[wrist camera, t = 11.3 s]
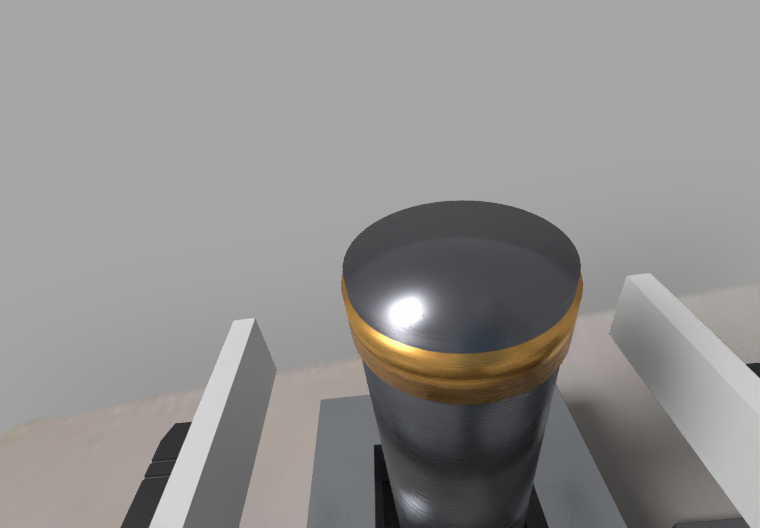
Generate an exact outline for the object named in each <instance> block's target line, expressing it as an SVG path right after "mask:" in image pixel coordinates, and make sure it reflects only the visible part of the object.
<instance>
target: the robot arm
mask: <svg viewBox="0 0 760 528" xmlns="http://www.w3.org/2000/svg"><path fill="white" fill-rule="evenodd" d="M609 335H610V336H611V337H612V339H613V340H614V342H615V343H616V344H617V346H618V347H619V348H620V350H621V351H622V352H623V354H624V355H625V357H626V358H627V359H628V361H629V362H630V363H631V365H632V366H633V368H634V369H635V370H636V372H637V373H638V374H639V376H640V377H641V378H642V380H643V381H644V383H645V384H646V385H647V387H648V388H649V389H650V391H651V392H652V394H653V395H654V396H655V398H656V399H657V400H658V402H659V403H660V404H661V406H662V407H663V409H664V410H665V411H666V413H667V414H668V415H669V417H670V418H671V420H672V421H673V422H674V424H675V425H676V426H677V428H678V429H679V430H680V432H681V433H682V435H683V436H684V437H685V439H686V440H687V441H688V443H689V444H690V446H691V447H692V448H693V450H694V451H695V452H696V454H697V455H698V456H699V458H700V459H701V461H702V462H703V463H704V465H705V466H706V467H707V469H708V470H709V472H710V473H711V474H712V476H713V477H714V478H715V480H716V481H717V482H718V484H719V485H720V487H721V488H722V489H723V491H724V492H725V493H726V495H727V496H728V498H729V499H730V500H731V502H732V503H733V504H734V506H735V507H736V508H737V510H738V511H739V513H740V514H741V515H742V517H743V518H744V519H745V521H746V522H747V524H748V525H749V526H750V528H760V363H752V364H744V363H743V362H742V361H741V360H740V359H739V358H738V357H737V356H736V355H735V354H734V353H733V352H732V351H731V350H730V349H729V348H728V347H727V346H726V345H725V344H723V343H722V342H721V341H720V340H719V339H718V338H717V337H716V336H715V335H714V334H713V333H712V332H711V331H710V330H709V329H708V328H707V327H706V326H705V325H704V324H703V323H702V322H701V321H699V320H698V319H697V318H696V317H695V316H694V315H693V314H692V313H691V312H690V311H689V310H688V309H687V308H686V307H685V306H684V305H683V304H682V303H681V302H680V301H679V300H678V299H676V298H675V297H674V296H673V295H672V294H671V293H670V292H669V291H668V290H667V289H666V288H665V287H664V286H663V285H662V284H661V283H660V282H659V281H658V280H657V279H656V278H655V277H654V276H652V275H651V274H650V273H648V274H639V275H630V276H627V277H626V280H625V283H624V287H623V290H622V293H621V296H620V300H619V303H618V306H617V309H616V313H615V316H614V319H613V322H612V325H611V329H610V332H609ZM276 370H277V369H276V367H275V364H274V362H273V360H272V357H271V355H270V352H269V350H268V348H267V345H266V343H265V341H264V338H263V336H262V333H261V331H260V329H259V326H258V324H257V321H256V319H255V318H252V319H243V320H234V322H233V324H232V326H231V329H230V331H229V334H228V336H227V339H226V341H225V344H224V346H223V348H222V351H221V354H220V356H219V358H218V361H217V363H216V366H215V368H214V370H213V373H212V375H211V378H210V380H209V382H208V385H207V387H206V390H205V392H204V395H203V397H202V400H201V402H200V404H199V407H198V409H197V412H196V414H195V417H194V419H193V421H192V422H186V423H176V424H175V425H174V426H173V427H172V428H171V429H170V431H169V432H168V433H167V434H166V435H165V437H164V438H163V439H162V440H161V442H160V444H159V446H158V448H157V450H156V452H155V454H154V457H153V459H152V464H150V465H149V467H148V470H147V472H146V474H145V479H144V480H142V482H141V485H140V487H139V489H138V491H137V493H136V495H135V498H134V500H133V502H132V504H131V506H130V508H129V510H128V513H127V515H126V517H125V519H124V521H123V523H122V526H121V528H239V524H240V520H241V516H242V512H243V508H244V504H245V499H246V495H247V491H248V487H249V483H250V479H251V474H252V470H253V466H254V462H255V458H256V454H257V449H258V445H259V441H260V437H261V433H262V429H263V424H264V420H265V416H266V412H267V408H268V404H269V399H270V395H271V391H272V387H273V383H274V379H275V374H276Z"/></svg>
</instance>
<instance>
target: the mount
mask: <svg viewBox="0 0 760 528" xmlns="http://www.w3.org/2000/svg"><path fill="white" fill-rule="evenodd" d="M672 528H750V526H749V525H748V524H747V522H746V521H745V519H744V518H738V519H726V520H714V521H703V522H691V523H679V524H674V526H673V527H672Z"/></svg>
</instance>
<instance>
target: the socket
mask: <svg viewBox="0 0 760 528" xmlns="http://www.w3.org/2000/svg"><path fill="white" fill-rule="evenodd" d="M387 481H390V480H389V476H388V471H387V467H386V462H385V458H384V453H383V449H382V445H381V440H380V436H379V431H378V427H377V423H376V418H375V414H374V409H373V405H372V401H371V396H370V395H363V396H353V397H343V398H334V399H324V400H321V404H320V413H319V422H318V431H317V440H316V449H315V458H314V467H313V476H312V485H311V494H310V503H309V512H308V521H307V528H384V507H383V482H387ZM525 522H526V525H527V528H627V526H626V524H625V522H624V520H623V518H622V516H621V514H620V512H619V510H618V508H617V506H616V504H615V502H614V500H613V498H612V496H611V494H610V492H609V490H608V488H607V486H606V484H605V482H604V480H603V478H602V476H601V474H600V472H599V470H598V468H597V466H596V464H595V462H594V460H593V458H592V455H591V453H590V451H589V449H588V447H587V445H586V443H585V441H584V439H583V437H582V435H581V433H580V431H579V429H578V427H577V425H576V423H575V421H574V419H573V417H572V415H571V413H570V411H569V409H568V407H567V405H566V403H565V401H564V399H563V397H562V395H561V393H560V391H559V389H558V387H557V385H556V384H555V389H554V393H553V398H552V402H551V406H550V411H549V415H548V420H547V424H546V429H545V433H544V437H543V442H542V446H541V451H540V455H539V460H538V464H537V469H536V473H535V477H534V482H533V486H532V491H531V495H530V500H529V504H528V508H527V513H526V517H525Z"/></svg>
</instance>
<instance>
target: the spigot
mask: <svg viewBox="0 0 760 528" xmlns="http://www.w3.org/2000/svg"><path fill="white" fill-rule="evenodd" d="M580 268H581V264H580V258H579V255H578V253H577V250H576V248H575V246H574V245H573V243H572V242H571V240H570V239H569V238H568V237H567V236H566V235H565V234H564V233H563V232H562V231H561V230H560V229H559V228H557V227H556V226H555V225H553V224H552V223H550V222H548V221H547V220H545V219H543V218H541V217H539V216H537V215H535V214H533V213H530V212H527V211H525V210H522V209H518V208H515V207H512V206H506V205H502V204H497V203H491V202H482V201H444V202H435V203H429V204H423V205H419V206H414V207H411V208H408V209H404V210H401V211H398V212H396V213H393V214H391V215H388V216H386V217H384V218H382V219H380V220H379V221H377V222H375V223H373V224H372V225H370V226H369V227H368V228H366V229H365V230H364V231H363V232H362V233H360V234H359V235H358V237H356V239H355V240H354V241H353V242H352V244H351V245H350V247H349V248H348V250H347V252H346V255H345V257H344V262H343V276H342V282H341V284H342V286H341V288H342V295H343V299H344V303H345V308H346V312H347V316H348V320H349V325H350V329H351V333H352V337H353V342H354V344H355V347H356V349H357V352H358V354H359V355H360V357H361V358H362V361H363V365H364V370H365V374H366V378H367V383H368V387H369V392H370V396H371V401H372V405H373V409H374V414H375V418H376V423H377V427H378V431H379V436H380V440H381V445H382V449H383V453H384V458H385V462H386V467H387V471H388V476H389V480H390V484H391V489H392V493H393V498H394V502H395V506H396V511H397V515H398V520H399V524H400V528H523V526H524V522H525V517H526V513H527V508H528V504H529V500H530V495H531V491H532V486H533V482H534V477H535V473H536V469H537V464H538V460H539V455H540V451H541V446H542V442H543V437H544V433H545V429H546V424H547V420H548V415H549V411H550V406H551V402H552V398H553V393H554V389H555V384H556V380H557V375H558V371H559V367H560V365H561V364H562V362H563V360H564V358H565V357H566V355H567V353H568V350H569V347H570V343H571V340H572V335H573V331H574V327H575V323H576V319H577V315H578V310H579V306H580V302H581V298H582V291H583V281H582V275H581V272H580Z"/></svg>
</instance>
